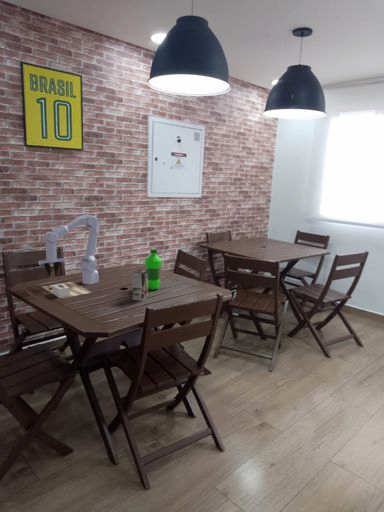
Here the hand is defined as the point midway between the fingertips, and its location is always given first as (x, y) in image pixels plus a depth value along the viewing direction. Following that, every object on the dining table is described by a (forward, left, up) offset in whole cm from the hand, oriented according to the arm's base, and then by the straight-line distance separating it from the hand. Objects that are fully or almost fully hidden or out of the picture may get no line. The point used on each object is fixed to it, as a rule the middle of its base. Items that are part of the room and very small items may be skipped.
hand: (52, 275), depth 214 cm
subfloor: (-6, +6, -10) cm, 13 cm away
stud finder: (+1, +14, -8) cm, 16 cm away
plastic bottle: (-52, +29, -10) cm, 60 cm away
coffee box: (-35, +40, -10) cm, 54 cm away
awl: (0, 0, -2) cm, 2 cm away
